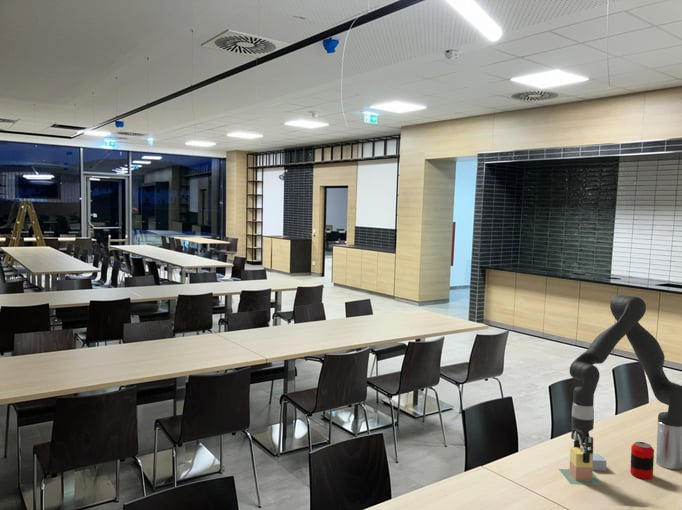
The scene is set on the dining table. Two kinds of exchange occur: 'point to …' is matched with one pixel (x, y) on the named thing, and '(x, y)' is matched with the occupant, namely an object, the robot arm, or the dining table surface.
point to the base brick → (581, 473)
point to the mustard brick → (579, 458)
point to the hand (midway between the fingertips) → (581, 457)
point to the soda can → (642, 460)
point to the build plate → (572, 481)
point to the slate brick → (599, 462)
